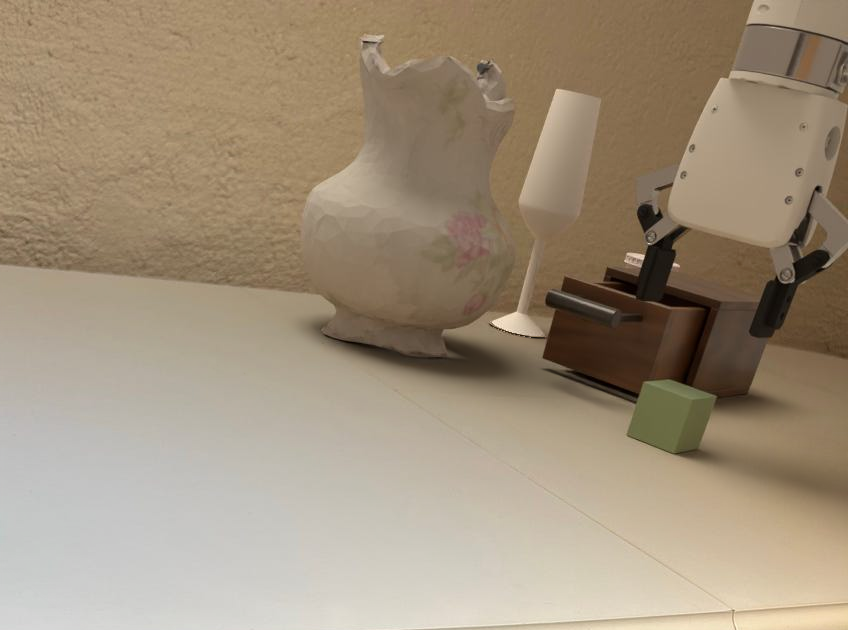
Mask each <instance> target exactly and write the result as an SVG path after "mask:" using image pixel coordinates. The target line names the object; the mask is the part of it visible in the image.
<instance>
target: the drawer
mask: <svg viewBox="0 0 848 630" xmlns="http://www.w3.org/2000/svg"><path fill="white" fill-rule="evenodd" d="M637 290H638V286H637V285H636V284H632V283H629V282H609V281H603V280H587V279H582V278H579V277H577V276H573V275H564V277H563V280H562V284H561V288H560V290H559V289H557V288H551V289H550V290H548V292H547V293H546V296H545V299H544V304H545V306H546V308H547V307H548V308H549V309H553V310H554V313H553V317H552V320H551V324H550V328H549V330H548V335H547V338H546V342H545V346H544V350H543V353H542V356H541V359H543V360H545V361H548V362H551V363H553V364H556V365H559V366H562V367H563V368H567V369H570V370H573V371H575V372H578V373H581V374H584V375H586V376H589V377H591V378H594V379H597V380H599V381H603V382H605V383H608V384H611V385H614V386H616V387H619V388H622V389H624V390H626V391H629V392H632V393H634V394H637V395H640V392H641V388H642V385H643V382H647V381H657V380H667V379H670V380H673V381H676V382H678V383H681V384H684V385H685V383H686V380H687V377H688V374H689V371H690V368H691V366H692V363H693V360H694V357H695V354H696V351H697V348H698V345H699V342H700V339H701V336H702V333H703V331H704V328H705V325H706V322H707V319H708V316H709V313H710V310H711V307H708V306H705V305H701V304H698V303H695V302H691V301H688V300H685V299H682V298H678V297H675V296H672V295H668V294H665V293H663V296H662V299H661V300H660V301H658V302H651V301H640V300H637V299H636V293H637Z"/></svg>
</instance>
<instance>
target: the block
mask: <svg viewBox="0 0 848 630" xmlns="http://www.w3.org/2000/svg"><path fill="white" fill-rule="evenodd" d="M717 399H718V398H717V396H715V395H712V394H709V393H707V392H704V391H701V390H698V389H695V388H692V387H690V386H687V385H684V384H681V383H678V382H676V381H673V380H670V379H667V380H657V381H647V382H643V385H642V388H641V392H640V394H638V397H637V401H636V405H635V407H634V410H633V413H632V416H631V419H630V423H629V426H628V429H627V432H626V436H627V437H630V438H633V439H635V440H638V441H641V442H643V443H645V444H648V445H651V446H653V447H655V448H658V449H659V450H662V451H664V452H668V453H670V454H673V455H674V454H680V453H685V452H689V451H694V450H698V449H699V448H700V445H701V442H702V440H703V437H704V434H705V431H706V429H707V426H708V423H709V420H710V417H711V415H712V412H713V410H714V406H715V404H716V401H717Z"/></svg>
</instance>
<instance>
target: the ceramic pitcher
mask: <svg viewBox="0 0 848 630" xmlns="http://www.w3.org/2000/svg"><path fill="white" fill-rule="evenodd" d="M385 36H386V34H380V35H374V34H367V35H366V36H358V38H359V40H360V55H359V61H358V62H359V73H360V74H359V75H360V83H361V89H362V98H363V108H364V136H363V143H362V148H361V149H360V151H359V152H358V154H357V156H356V157H355V159H354V160H353V161H352V162H351V163H350V164H349V165H348V166H346V167H345V168H344V169H342V170H341V171H339V172H338V173H335V174H334V175H332V176H331V177H329V178H327V179H325V180H323V181H321V182H320V183H318V184H317V185H316V186H314V187H313V188H312V189H311V191H310V192H309V194H308V196H307V198H306V202H305V205H304V209H303V212H302V216H301V219H300V220H301V221H300V233H299V235H300V251H301V255H302V258H303V259H302V260H303V264H304V267H305V269H306V271H307V272H306V273H307V274H308V277H309V280H310V281H311V284H312V285H313V287H314V289H315V290H316V291H317V293H318V294H319V295H320V296H321V297H323V299H325V300H326V301H327V302H329V303H330V304H332V306H333V307H334V309H335V314H334V316H333V317H332V318H331V319H330V320H329V321H328V323H327V324H325V325H323V327H322V328H320V330H321V332H322V333H323V335H326V336H328V337H331V338H333V339H337V340H341V341H346V342H353V343H359V344H360V343H361V344H366V345H372V346H377V347H380V348H383V349H387V350H390V351H392V352H393V351H394V352H397V353H400V354H403V355H404V356H409V357H410V356H413V357H422V358H423V357H425V358H426V357H436V358H437V357H438V358H448V352H447V347H446V345H445V344H446V343H445V340H444V338H443V336H442V335H443V332H444V330H454V329H460V328H463V327H466V326H469V325H471V324H473V323H474V322H476V321H477V320H479V319H480V318H481V317H483V316H484V315H485V314H486V313H488V311H490V309H491V308H492V307H493V306H494V304H496V302H497V300H498V299H499V298H500V296H501V295H502V293H503V291H504V289H505V288H506V285H507V284H508V282H509V280H510V277H511V275H512V274H513V270H514V267H515V263H516V257H517V242H516V241H517V240H516V238H515V235H514V233H513V231H512V228H511V227H510V225H509V223H508V222H507V220H506V218H505V217H504V215H503V213H502V212H501V210H500V208H499V207H498V206H497V203H496V202H495V200H494V198H493V196H492V191H491V185H490V173H491V169H492V165H493V163H494V160H495V156H496V154H497V152H498V149H499V148H500V145H501V144H502V142H503V140H504V138H505V137H506V135H507V134H508V132H509V131H510V129H511V128H512V126H513V123H514V120H515V119H514V118H515V110H516V109H515V107H516V106H515V102H514V99H512V98H507V95H506V94H507V93H506V82H505V79H504V76H503V73H504V71H503V70H501V69H500V65H498V64H497V63H496V62H495V61H494V59H490V60H486V59H482V60H481V61H480V62H478V64H477V65H476V75H475V73H474V72H473V70H472V69H471V68H469V67H468V66H467V65H465V64H464V63H462V62H461V61H460V60H458V59H456V58H455V57H453V56H452V55H450V56H448V55H447V56H446V55H445V56H443V55H441V56H435V57H432V58H428V59H424V58H423V59H422V58H412V59H410V60H408V61H405V62H403V63H402V64H400V65H397V66H395V67H393V68H391V67H390V66H389V65H388V63H387V61H386V59H385V57H384V56H383V53H382V47H381V45H382V44H383V43H384V40H382V39H384V37H385Z"/></svg>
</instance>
